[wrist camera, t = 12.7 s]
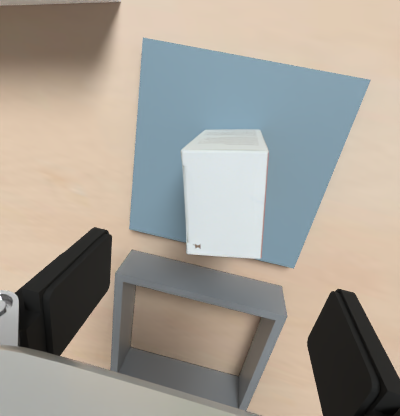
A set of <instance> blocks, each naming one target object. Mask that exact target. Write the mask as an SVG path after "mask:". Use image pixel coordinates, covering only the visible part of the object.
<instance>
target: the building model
mask: <svg viewBox="0 0 400 416" xmlns="http://www.w3.org/2000/svg"><path fill="white" fill-rule="evenodd" d="M99 2H121V0H0V6H5V5H36V4H68V3H99Z"/></svg>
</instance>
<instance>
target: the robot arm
mask: <svg viewBox="0 0 400 416" xmlns="http://www.w3.org/2000/svg"><path fill="white" fill-rule="evenodd" d="M111 247H112V236H111V235H110V234H109V232H108V231H107V230H104V229H100V228H96V227H94V228H92V229H91V230H90V231H89V232H88V233H86V234H85V235H84V236H83V237H82V238H81V239H79V240H78V241H77V242H76V243H75V244H73V245H72V246H71V247H70V248H69V249H68V250H66V251H65V252H64V253H62V254H61V255H59V256H58V257H57V258H56V259H55V260H53V261H52V262H51V263H50V264H49V265H48V266H46V267H45V268H44V269H43V270H42V271H40V272H39V273H38V274H37V275H36V276H34V277H33V278H32V279H31V280H30V281H29V282H27V283H26V284H25V285H24V286H23V287H21V288H20V289H19V290H18V291H17V292H15V293H13V292H10V291H5V290H0V416H260V415H257V414H254V413H251V412H247V411H244V410H241V409H238V408H234V407H231V406H228V405H224V404H221V403H218V402H215V401H211V400H208V399H205V398H201V397H198V396H195V395H191V394H188V393H185V392H181V391H178V390H175V389H171V388H168V387H165V386H161V385H158V384H155V383H151V382H148V381H145V380H141V379H138V378H134V377H131V376H128V375H124V374H121V373H117V372H114V371H111V370H107V369H104V368H100V367H97V366H94V365H90V364H87V363H83V362H80V361H76V360H72V359H69V358H65V357H61V356H60V355H61V354H62V352H63V351H64V350H65V348H66V347H67V345H68V344H69V343H70V341H71V340H72V339H73V337H74V336H75V334H76V333H77V332H78V330H79V329H80V328H81V326H82V325H83V324H84V322H85V321H86V319H87V318H88V317H89V315H90V314H91V313H92V311H93V310H94V308H95V307H96V306H97V304H98V303H99V302H100V300H101V299H102V297H103V296H104V295H105V293H106V292H107V290H108V288H109V285H110V270H111ZM307 346H308V351H309V355H310V360H311V364H312V368H313V373H314V377H315V382H316V386H317V391H318V395H319V399H320V404H321V408H322V413H323V416H400V379H399V377H398V375H397V373H396V371H395V369H394V367H393V365H392V363H391V361H390V360H389V358H388V356H387V354H386V352H385V350H384V348H383V346H382V344H381V342H380V340H379V339H378V337H377V335H376V333H375V331H374V329H373V327H372V325H371V323H370V321H369V319H368V318H367V316H366V314H365V312H364V310H363V308H362V306H361V304H360V302H359V300H358V298H357V297H356V295H355V293H353V292H349V291H345V290H341V289H337V290H336V291H335V292H334V291H332V292H331V293H330V295H329V297H328V299H327V301H326V303H325V305H324V307H323V309H322V311H321V313H320V315H319V317H318V319H317V321H316V323H315V325H314V327H313V329H312V331H311V333H310V335H309V337H308V341H307Z"/></svg>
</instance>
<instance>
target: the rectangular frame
mask: <svg viewBox="0 0 400 416" xmlns="http://www.w3.org/2000/svg"><path fill="white" fill-rule="evenodd" d="M136 285H138V286H142V287H146V288H150V289H153V290H157V291H161V292H165V293H169V294H173V295H177V296H181V297H185V298H189V299H193V300H197V301H201V302H205V303H209V304H213V305H217V306H220V307H224V308H228V309H232V310H236V311H240V312H244V313H248V314H252V315H256V316H260V317H261V320H260V322H259V325H258V328H257V330H256V333H255V336H254V338H253V341H252V344H251V346H250V349H249V351H248V354H247V357H246V359H245V362H244V365H243V367H242V370H241V373H240V375H239V376H235V375H231V374H227V373H224V372H220V371H216V370H213V369H209V368H205V367H202V366H198V365H194V364H191V363H187V362H183V361H179V360H176V359H172V358H168V357H165V356H161V355H157V354H154V353H150V352H146V351H143V350H139V349H135V348H132V347H130V345H131V334H132V323H133V313H134V302H135V291H136ZM286 318H287V312H286V306H285V301H284V296H283V290H282V286H279V285H275V284H271V283H266V282H262V281H258V280H254V279H250V278H246V277H242V276H238V275H234V274H230V273H226V272H221V271H217V270H213V269H209V268H205V267H201V266H197V265H193V264H189V263H185V262H181V261H176V260H172V259H168V258H164V257H160V256H156V255H152V254H148V253H144V252H140V251H135V250H131V252H130V253H129V255H128V256H127V257H126V259H125V260H124V262H123V263H122V264H121V266H120V267H119V269H118V270H117V271H116V273H115V289H114V309H113V330H112V350H111V371H114V372H117V373H121V374H124V375H128V376H131V377H134V378H138V379H141V380H145V381H148V382H151V383H155V384H158V385H161V386H165V387H168V388H171V389H175V390H178V391H181V392H185V393H188V394H191V395H195V396H198V397H201V398H205V399H208V400H211V401H215V402H218V403H221V404H224V405H228V406H231V407H234V408H238V409H241V410H244V411H246V410H247V408H248V405H249V403H250V401H251V398H252V396H253V394H254V392H255V389H256V387H257V385H258V382H259V380H260V378H261V376H262V373H263V371H264V369H265V366H266V364H267V362H268V360H269V357H270V355H271V353H272V350H273V348H274V346H275V343H276V341H277V339H278V337H279V334H280V332H281V330H282V327H283V325H284V323H285V321H286Z"/></svg>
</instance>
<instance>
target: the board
mask: <svg viewBox="0 0 400 416" xmlns="http://www.w3.org/2000/svg"><path fill="white" fill-rule="evenodd" d="M369 83H370V80H368V79H363V78H357V77H352V76H346V75H341V74H336V73H330V72H325V71H320V70H314V69H309V68H303V67H298V66H293V65H287V64H282V63H277V62H271V61H266V60H260V59H255V58H250V57H244V56H239V55H234V54H228V53H223V52H217V51H212V50H207V49H201V48H196V47H191V46H185V45H180V44H174V43H169V42H164V41H158V40H153V39H147V38H143V44H142V58H141V73H140V87H139V101H138V115H137V129H136V143H135V157H134V171H133V185H132V199H131V213H130V227H129V229H131V230H135V231H139V232H143V233H147V234H152V235H156V236H160V237H164V238H168V239H173V240H177V241H181V242H185V243H186V217H185V199H184V182H183V169H182V159H181V150H182V149H183V148H184V147H185V146H186V145H187V144H189V143H190V142H191V141H192V140H193V139H194V138H196V137H197V136H198V135H199V134H201V133H202V132H203V131H204V130H219V129H259V130H261V133H262V135H263V138H264V140H265V143H266V145H267V148H268V150H269V160H268V174H267V188H266V203H265V217H264V231H263V244H262V258H261V259H256V260H260V261H265V262H269V263H273V264H277V265H281V266H286V267H290V268H294V267H295V264H296V262H297V259H298V257H299V255H300V252H301V250H302V247H303V245H304V242H305V240H306V237H307V235H308V232H309V230H310V228H311V225H312V223H313V220H314V218H315V215H316V213H317V210H318V208H319V205H320V203H321V201H322V198H323V196H324V193H325V191H326V188H327V186H328V183H329V181H330V178H331V176H332V174H333V171H334V169H335V166H336V164H337V161H338V159H339V156H340V154H341V151H342V149H343V146H344V144H345V142H346V139H347V137H348V134H349V132H350V129H351V127H352V124H353V122H354V119H355V117H356V115H357V112H358V110H359V107H360V105H361V102H362V100H363V97H364V95H365V92H366V90H367V88H368V85H369Z"/></svg>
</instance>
